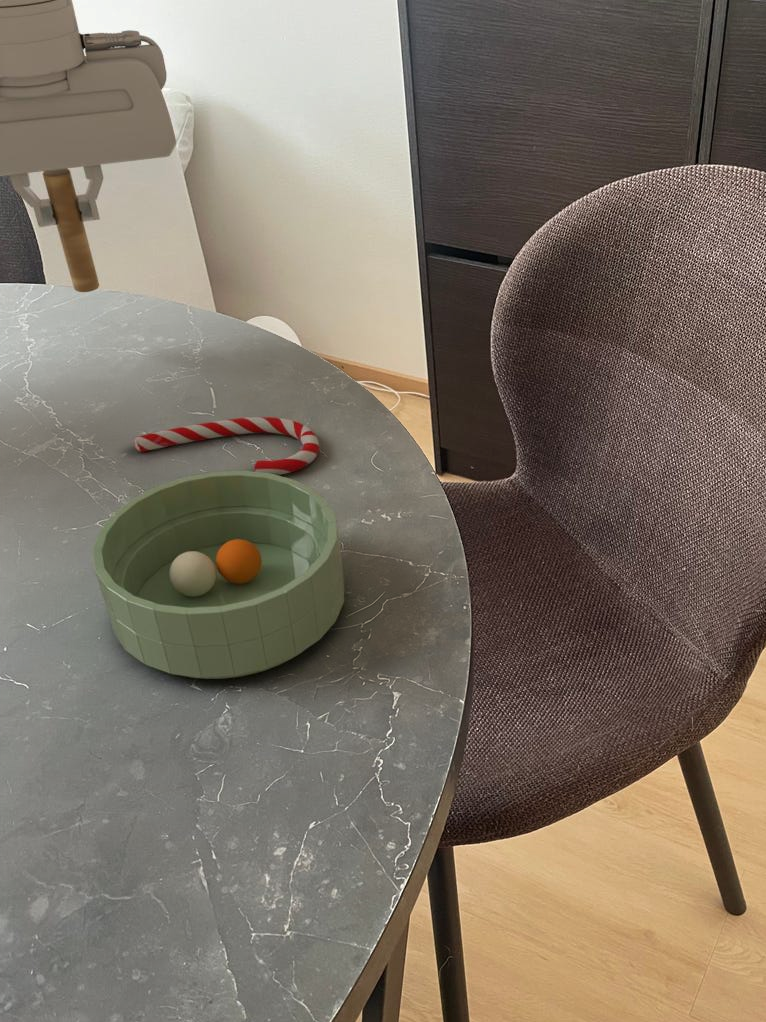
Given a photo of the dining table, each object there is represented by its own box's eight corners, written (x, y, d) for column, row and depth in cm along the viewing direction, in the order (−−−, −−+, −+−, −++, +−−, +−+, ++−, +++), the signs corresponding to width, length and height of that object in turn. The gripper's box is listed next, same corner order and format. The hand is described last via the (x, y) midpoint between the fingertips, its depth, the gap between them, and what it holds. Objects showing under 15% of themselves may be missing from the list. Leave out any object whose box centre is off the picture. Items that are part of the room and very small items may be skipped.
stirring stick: (75, 294, 92) (43, 177, 86) (73, 283, 94) (41, 168, 87) (100, 290, 93) (71, 174, 86) (98, 280, 94) (68, 165, 88)
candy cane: (140, 416, 86) (321, 412, 87) (143, 430, 87) (323, 426, 88) (120, 467, 81) (314, 463, 81) (124, 481, 81) (316, 477, 82)
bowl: (127, 712, 63) (104, 637, 59) (105, 566, 73) (83, 495, 69) (371, 654, 67) (364, 580, 63) (316, 523, 77) (307, 454, 73)
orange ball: (230, 590, 72) (271, 579, 71) (215, 586, 69) (259, 574, 68) (219, 548, 72) (261, 537, 72) (205, 542, 69) (248, 531, 69)
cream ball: (202, 586, 72) (159, 580, 70) (214, 547, 71) (170, 540, 69) (214, 606, 69) (170, 601, 68) (227, 566, 68) (182, 560, 67)
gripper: (153, 19, 85) (185, 194, 94) (-119, 42, 80) (-56, 224, 89) (163, 36, 81) (196, 218, 90) (-124, 61, 75) (-57, 251, 85)
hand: (69, 221), depth 89 cm, fingers closed on stirring stick, 2 cm apart
